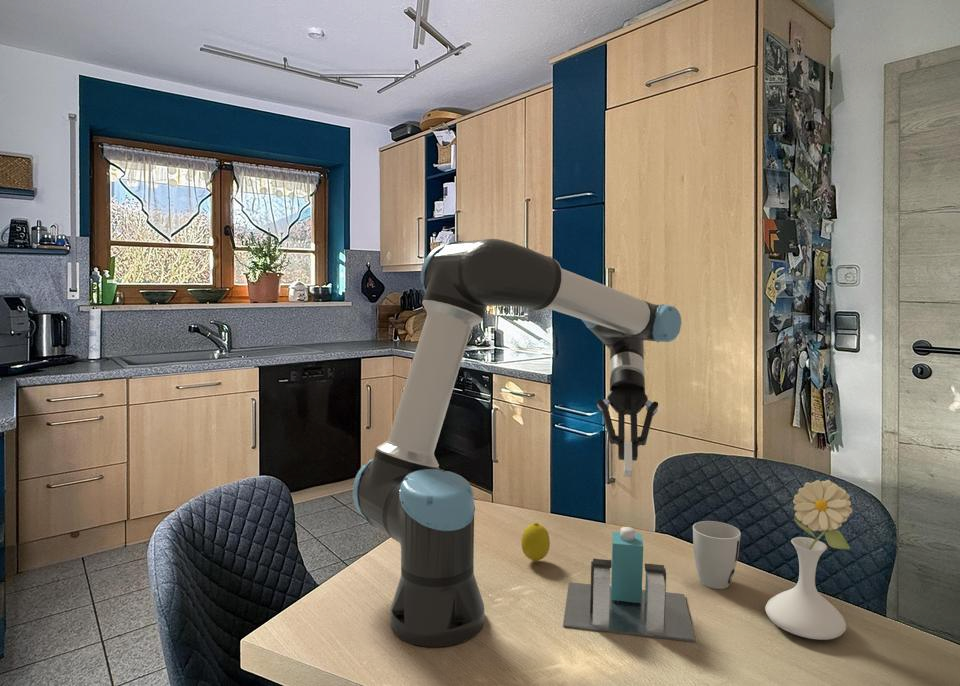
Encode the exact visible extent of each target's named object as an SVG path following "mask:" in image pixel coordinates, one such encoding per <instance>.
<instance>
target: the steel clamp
mask: <svg viewBox="0 0 960 686" xmlns="http://www.w3.org/2000/svg"><path fill="white" fill-rule="evenodd" d="M611 569H612V559H602V558H592V561H590V583H584V582H583V583H581V582H571V581H569V582H568V585H567V593H566V600H565V607H564V608H565V609H564V616H563V623H562V627H563V628H564V627H565V628H572V629H579V630H588V631H597V632H604V633H613V634H614V633H615V634H621V635H622V634H623V635H629V636H637V637H638V636H639V637H646V638H647V637H648V638H655V639H665V640H671V641H672V640H673V641H680V642H689V643H696V638H695V633H694V629H693V626H692V621H691V617H690V612H689V609H688V605H687V600H686V596H685V593H678V592H677V593H676V592H668V591H667V589H666V588H667V571H666V568H665V565H663V564H656V563H655V564H654V563H646V562H645V563H644V571H645V586H644V587H645V589H642V603H635V602H626V601H616V600H611Z"/></svg>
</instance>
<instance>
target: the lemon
mask: <svg viewBox="0 0 960 686" xmlns="http://www.w3.org/2000/svg"><path fill="white" fill-rule="evenodd" d="M550 541H551V540H550V534H549V532H548V530H547V528H546V527H545V526H544V525H542V524H540V523H538V522H533V523H531V524H529V525H527V526H525V528H524V530H523V533H522V536H521V544H520V545H521V549H522V550H521V551H522V552H523V554H524V555H525V557H526V558H528V559H529V560H531V561H533V563H538V562H539V561H540V560H543V559H544V558H546V556H547V555H548V553H549V550H550V546H551V545H550V543H551V542H550Z"/></svg>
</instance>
